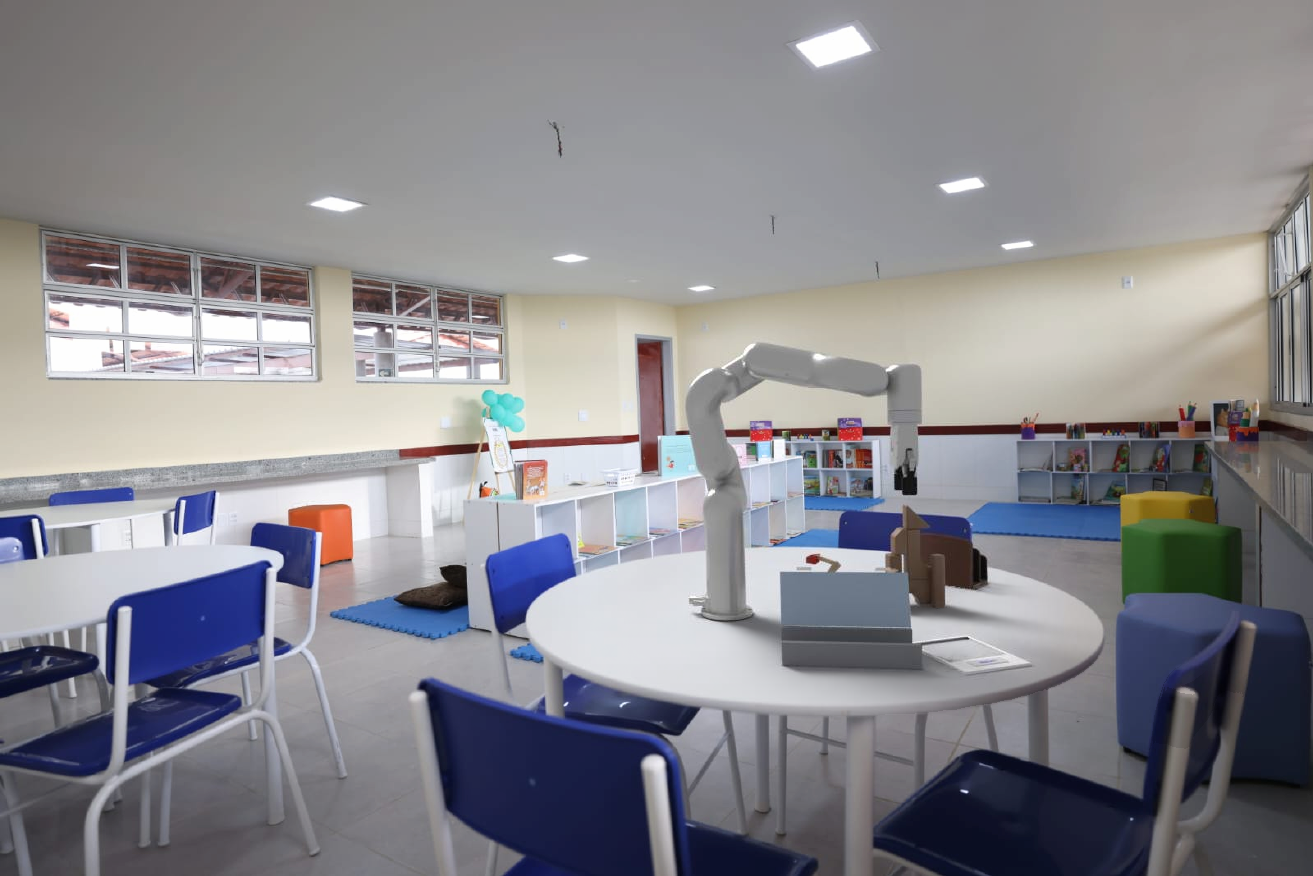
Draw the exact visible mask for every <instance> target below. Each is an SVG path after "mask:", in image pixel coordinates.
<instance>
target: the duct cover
mask: <svg viewBox="0 0 1313 876" xmlns="http://www.w3.org/2000/svg"><path fill="white" fill-rule="evenodd" d="M882 571H883V572H882ZM886 571H891V568H885V567H874V572H872V571H870V572H869V571H868V572H867V571H865V572H864V571H863V572H861V571H860V572H858V571H857V572H856V571H855V572H854V571H836V572H827V571H812V567H811V566H796V571H779V585H780V586H779V587H780V588H779V589H780V591H779V593H780V623H781V624H780V626H821V627H874V628H911V629H912V620H911V619H912V618H911V602H910V601H911V600H910V599H911V598H910V593H909V582H908V573H904V572H902V573H893V572H886Z"/></svg>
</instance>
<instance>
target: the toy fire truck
mask: <svg viewBox="0 0 1313 876" xmlns="http://www.w3.org/2000/svg"><path fill="white" fill-rule="evenodd" d="M820 562H823V563H826V564H830V565H831V566H829V568H828V569H827V571H826V572H838V570H839V569H840V567H842V565H841V563H840V562H839V561H838V560H833V559H831V558H827V557H825V556H821V554H820V553H814V554H809V555H807V556H805V564H809V565H817V564H819V563H820Z"/></svg>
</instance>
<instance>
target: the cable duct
mask: <svg viewBox="0 0 1313 876" xmlns="http://www.w3.org/2000/svg"><path fill="white" fill-rule="evenodd" d="M780 628H781V631H780V632H781V661H782V662H781V663H782V665H781V666H785V667H786V666H787V667H788V666H789V667H790V666H794V667H795V666H797V667H798V666H799V667H824V668H825V667H827V668H828V667H831V668H864V669H866V668H868V669H899V670H900V669H904V670H923V653H922V649H923V645H922V643H921V644H917V643H913V642H914V641H913V629H912V627H911V628H900V627H847V626H794V625H780Z"/></svg>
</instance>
